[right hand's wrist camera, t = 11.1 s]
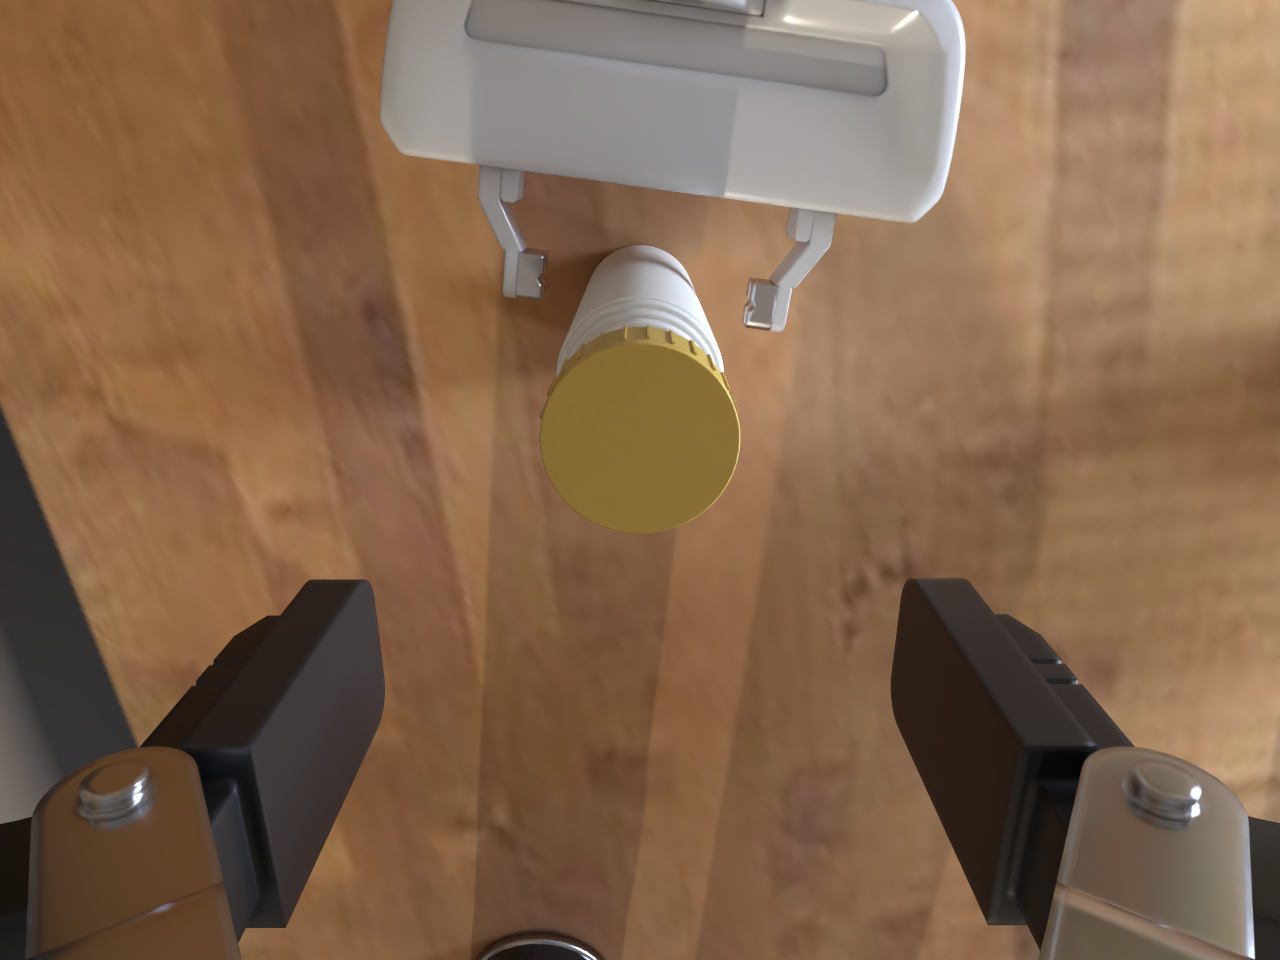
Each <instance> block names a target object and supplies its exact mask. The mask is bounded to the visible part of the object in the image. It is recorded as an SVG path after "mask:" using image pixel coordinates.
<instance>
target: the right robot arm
mask: <svg viewBox="0 0 1280 960" xmlns="http://www.w3.org/2000/svg"><path fill="white" fill-rule="evenodd" d="M384 697H385V679H384V670H383V663H382V655H381V647H380V639H379V631H378V623H377V615H376V607H375V599H374V593H373V589H372V587H371V585H370V583H369V582H368V581H367V580H309V581H308V582H307V583H306V584H305V585H304V586H303V587H302V589H301V590H300V591H299V592H298V594H297V595H296V596H295V597H294V599H293V600H292V601H291V603H290V604H289V605H288V606H287V608H286V609H285V610H284V611H283V613H282V614H281V615H280V616H266V617H265V618H263V619H261V620H260V621H258V622H256V623H255V624H253V625H252V626H250V627H248V628H247V629H245V630H244V631H242V632H240V633H239V634H237V635H236V636H234V637H233V638H232V639H231V641H230V642H229V643H228V644H227V645H226V646H225V648H224V649H223V650H222V651H221V652H220V654H219V655H218V656H217V657H216V658H215V659H214V664H213V665H209V666H208V668H207V669H206V670H205V671H204V672H203V674H202V675H201V676H200V677H199V678H198V679H197V681H196V686H191V688H190V689H189V690H188V691H187V692H186V693H185V695H184V696H183V697H182V698H181V699H180V701H179V702H178V703H177V704H176V705H175V706H174V708H173V709H172V710H171V711H170V712H169V713H168V715H167V716H166V717H165V718H164V719H163V721H162V722H161V723H160V724H159V725H158V726H157V728H156V729H155V730H154V731H153V732H152V733H151V735H150V736H149V737H148V738H147V739H146V740H145V742H144V743H143V744H142V745H141V746H140V748H135V749H129V750H125V751H121V752H117V753H114V754H111V755H108V756H105V757H102V758H100V759H98V760H95V761H93V762H91V763H89V764H87V765H85V766H83V767H81V768H79V769H77V770H75V771H74V772H72V773H71V774H69V775H68V776H66V777H64V778H63V779H62V780H61V781H59V782H58V783H57V784H55V785H54V786H53V787H52V788H51V789H50V790H49V791H48V792H47V793H46V794H45V795H44V796H43V797H42V799H41V800H40V801H39V803H38V804H37V806H36V808H35V810H34V812H33V816H32V817H30V818H26V819H22V820H18V821H13V822H8V823H4V824H0V960H242V959H241V955H240V951H239V946H238V942H239V940H240V938H241V936H242V935H243V933H244V931H245V929H246V928H286V926H287V924H288V921H289V919H290V917H291V915H292V913H293V911H294V908H295V906H296V904H297V902H298V900H299V898H300V895H301V893H302V891H303V889H304V887H305V885H306V882H307V880H308V878H309V876H310V874H311V872H312V869H313V867H314V865H315V863H316V861H317V859H318V856H319V854H320V852H321V850H322V848H323V846H324V843H325V841H326V839H327V837H328V835H329V833H330V830H331V828H332V826H333V824H334V822H335V820H336V817H337V815H338V813H339V811H340V809H341V807H342V804H343V802H344V800H345V798H346V796H347V794H348V791H349V789H350V787H351V785H352V783H353V781H354V778H355V776H356V774H357V772H358V770H359V768H360V765H361V763H362V761H363V759H364V757H365V755H366V752H367V750H368V748H369V746H370V744H371V742H372V739H373V737H374V735H375V733H376V731H377V729H378V726H379V724H380V720H381V717H382V712H383V706H384ZM891 699H892V707H893V712H894V717H895V720H896V723H897V726H898V728H899V730H900V732H901V735H902V737H903V739H904V741H905V743H906V746H907V748H908V750H909V752H910V754H911V757H912V759H913V761H914V763H915V765H916V768H917V770H918V772H919V774H920V776H921V779H922V781H923V783H924V785H925V787H926V790H927V792H928V794H929V796H930V798H931V800H932V803H933V805H934V807H935V809H936V811H937V814H938V816H939V818H940V820H941V822H942V825H943V827H944V829H945V831H946V833H947V836H948V838H949V840H950V842H951V844H952V847H953V849H954V851H955V853H956V855H957V858H958V860H959V862H960V864H961V866H962V869H963V871H964V873H965V875H966V877H967V880H968V882H969V884H970V886H971V888H972V891H973V893H974V895H975V897H976V899H977V902H978V904H979V906H980V908H981V910H982V913H983V915H984V917H985V919H986V921H987V924H988V925H1028V927H1029V929H1030V931H1031V933H1032V935H1033V937H1034V939H1035V941H1036V943H1037V945H1038V947H1039V949H1040V955H1039V959H1038V960H1280V823H1276V822H1271V821H1267V820H1262V819H1257V818H1253V817H1249V816H1247V812H1246V810H1245V808H1244V806H1243V804H1242V803H1241V801H1240V800H1239V799H1238V797H1237V796H1236V795H1235V794H1234V793H1233V792H1232V791H1231V790H1230V789H1229V788H1228V787H1227V786H1226V785H1225V784H1223V783H1222V782H1221V781H1220V780H1218V779H1217V778H1216V777H1214V776H1212V775H1211V774H1209V773H1208V772H1206V771H1205V770H1203V769H1201V768H1199V767H1197V766H1195V765H1194V764H1192V763H1189V762H1187V761H1185V760H1182V759H1180V758H1178V757H1175V756H1172V755H1169V754H1166V753H1163V752H1159V751H1155V750H1151V749H1145V748H1139V747H1135V746H1134V745H1133V744H1132V743H1131V742H1130V741H1129V739H1128V738H1127V737H1126V736H1125V735H1124V733H1123V732H1122V731H1121V730H1120V729H1119V727H1118V726H1117V725H1116V724H1115V723H1114V722H1113V720H1112V719H1111V718H1110V717H1109V716H1108V714H1107V713H1106V712H1105V711H1104V710H1103V708H1102V707H1101V706H1100V705H1099V704H1098V703H1097V701H1096V700H1095V699H1094V698H1093V697H1092V695H1091V694H1090V693H1089V692H1088V691H1087V690H1086V688H1085V687H1084V686H1083V685H1082V684H1078V679H1077V678H1076V676H1075V675H1074V674H1073V673H1072V672H1071V671H1070V669H1069V668H1068V667H1067V666H1066V665H1065V664H1061V659H1060V657H1059V656H1058V655H1057V654H1056V653H1055V652H1054V650H1053V649H1052V648H1051V647H1050V646H1049V644H1048V643H1047V642H1046V641H1045V640H1044V638H1043V637H1042V636H1041V635H1040V634H1038V633H1037V632H1035V631H1033V630H1032V629H1030V628H1029V627H1027V626H1025V625H1024V624H1022V623H1021V622H1019V621H1017V620H1016V619H1014V618H1013V617H1011V616H1009V615H1008V614H994V613H993V612H992V610H991V609H990V608H989V607H988V605H987V604H986V603H985V601H984V600H983V599H982V598H981V596H980V595H979V594H978V593H977V591H976V590H975V589H974V587H973V586H972V585H971V584H970V582H969V581H968V580H966V579H962V578H910V579H908V580H907V581H906V583H905V584H904V587H903V590H902V595H901V602H900V610H899V618H898V626H897V635H896V643H895V651H894V659H893V667H892V675H891ZM476 960H604V959H603V958H602V956H601V955H600V954H599V953H598V952H596V951H595V950H594V949H593V948H591V947H590V946H588V945H587V944H585V943H583V942H581V941H579V940H577V939H574V938H572V937H569V936H565V935H562V934H557V933H550V932H527V933H521V934H516V935H512V936H509V937H506V938H504V939H501V940H499V941H497V942H495V943H494V944H492V945H491V946H489V947H488V948H487V949H485V950H484V951H483V952H482V953H481V954H480V955H479V956H478V958H477V959H476Z"/></svg>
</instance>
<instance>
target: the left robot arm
mask: <svg viewBox="0 0 1280 960" xmlns="http://www.w3.org/2000/svg"><path fill="white" fill-rule="evenodd" d="M965 52H966V49H965V34H964V28H963V23H962V20H961V17H960V14H959V12H958V10H957V8H956V6H955V5H954V3H953V2H952V1H951V0H392V6H391V11H390V17H389V22H388V29H387V36H386V42H385V50H384V59H383V68H382V77H381V91H380V122H381V125H382V127H383V129H384V131H385V132H386V134H387V135H388V137H389V138H390V140H391V141H392V143H393V144H394V146H395V147H396V148H397V150H398V151H399V152H400V153H401V154H404V155H410V156H417V157H424V158H431V159H439V160H446V161H454V162H461V163H468V164H476V165H480V172H479V190H478V200H479V202H480V204H481V206H482V208H483V211H484V213H485V215H486V217H487V219H488V221H489V223H490V225H491V228H492V230H493V232H494V234H495V236H496V238H497V240H498V242H499V245H500V247H501V249H503V250H505V259H504V274H503V296H504V297H510V298H519V299H528V300H537V301H541V300H542V298H543V297H544V293H545V285H546V278H545V277H544V275H543V272H544V271H545V270H546V268H547V262H548V251H544V250H538V249H531V248H528V245H527V243H526V241H525V238H524V236H523V234H522V231H521V229H520V227H519V224H518V222H517V220H516V217H515V215H514V213H513V211H512V208H511V206H510V204H509V202H510V203H514V202H517V201H520V200H521V199H522V198H523V195H524V184H525V172H526V171H527V172H535V173H542V174H550V175H557V176H564V177H572V178H579V179H587V180H594V181H601V182H609V183H616V184H623V185H631V186H638V187H646V188H653V189H660V190H668V191H675V192H683V193H690V194H697V195H705V196H712V197H719V198H727V199H734V200H742V201H749V202H756V203H764V204H771V205H779V206H786V207H790V211H789V217H788V223H787V229H786V234H787V236H789V237H791V238H793V239H794V240H796V241H798V242H797V243H796V244H795V246H794V247H793V248H792V250H791V251H790V252H789V253H788V255H787V256H786V257H785V259H784V260H783V261H782V262H781V264H780V265H779V266H778V268H777V269H776V270H775V271H774V273H773V274H772V275H771V277H770V278H769V279H770V280H767V279H758V278H749V281H748V286H747V292H746V295H747V297H748V299H749V301H748V302H747V303H746V304H745V305H744V310H743V319H742V321H743V324H744V325H745V327H746V328H753V329H760V330H767V331H775V332H782V331H783V329H784V326H785V323H786V318H787V312H788V307H789V302H790V296H791V291H792V288H796V287H797V285H798V284H799V283H800V282H801V281H802V280H803V278H804V277H805V276H806V275H807V274H808V272H809V271H810V270H811V269H812V268H813V266H814V265H815V264H816V263H817V262H818V260H819V259H820V258H821V257H822V256H823V254H824V253H825V252H826V251H827V250H828V248H829V247H830V245H831V240H832V235H833V231H834V226H835V221H836V216H837V213H838V214H845V215H852V216H860V217H867V218H875V219H882V220H889V221H897V222H904V223H913V222H916V221H917V220H918V219H920V218H921V217H922V216H923V215H924V214H925V213H927V212H928V211H929V210H930V209H931V208H932V207H933V206H934V205H935V204H936V203H937V202H938V200H939V199H940V197H941V196H942V193H943V191H944V187H945V184H946V180H947V176H948V172H949V168H950V163H951V158H952V153H953V148H954V143H955V137H956V131H957V125H958V119H959V112H960V104H961V97H962V88H963V78H964V68H965Z"/></svg>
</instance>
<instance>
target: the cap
mask: <svg viewBox="0 0 1280 960" xmlns="http://www.w3.org/2000/svg"><path fill="white" fill-rule="evenodd" d="M729 390H730V388H729V385H728V383H727V380H726V377H725V375H724V373H723V372H721V373H720V371H719V369H718V368H717V366H716V365H715V364H714V362H713V359H712V357H711V355H710V354H708V355H707V354H706V353H705V352H704V351H703V350H702V349H700V348H699V347H698V346H696V345H695V343H694V340H692V339H691V340H690V341H689V340H687V339H686V338H684V337H682V336H680V335H677V334H675V333H673V330H671V329H670V330H669V331H666V330H663V329H659V328H652V327H650V325H647V326H646V327H629V328H627V326H623V328H621V329H617V330H614V331H610V332H607V333H605V334H604V332H601V333H600V336H598V337H596V338H594V339H593V340H591V341H589V342H587V343H586V344H585V345H584V343H582V344H581V345H580V348H579V349H578V350H577V351H576V352H575V353H574V354H573V355H572V356H571V357H570V358H569V360H568V359H566V360H565V361H564V363H563V366H562V369H561V371H560V373H559V375H558V376H557V378H554V379H553V381H552V384H551V386H550V389H549V391H548V394H547V396H548V397H549V399H547V400H546V403H545V406H544V408H543V411H542V413H541V416H540V419H542V420H541V427H540V438H539V442H540V449H541V455H542V460H543V464H544V467H545V470H546V473H547V475H548V477H549V479H550V481H551V483H552V485H553V486H554V488H555V489H556V491H557V492H558V494H559V495H560V496H561V497H562V498H563V500H564V501H565V502H566V503H567V504H568V505H569V506H570V507H571V508H573V509H574V510H575V511H576V512H577V513H579V514H580V515H582V516H583V517H584V518H586V519H588V520H590V521H592V522H593V523H595V524H597V525H600V526H603V527H605V528H608V529H612V530H615V531H619V532H626V533H654V532H660V531H664V530H669V529H672V528H675V527H677V526H680V525H683V524H684V523H686V522H688V521H690V520H692V519H694V518H695V517H697V516H698V515H700V514H701V513H703V512H704V511H705V510H706V509H707V508H709V507H710V506H711V505H712V504H713V503H714V502H715V501H716V500H717V498H718V497H719V496H720V495H721V494H722V492H723V491H724V489H725V488H726V486H727V485H728V483H729V481H730V479H731V477H732V475H733V473H734V470H735V467H736V464H737V460H738V455H739V450H740V435H741V431H740V427H739V421H738V416H737V412H738V408H737V405H736V403H735V400H734V398H733V395H732V393H729Z"/></svg>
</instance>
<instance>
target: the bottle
mask: <svg viewBox="0 0 1280 960" xmlns="http://www.w3.org/2000/svg"><path fill="white" fill-rule="evenodd" d="M647 325H650V327H652V328H659V329H663V330H666V331H669V330H670V329H671V330H673V333H675V334H677V335H680V336H682V337H684V338H686V339H687V340H689V341H690V340H691V339H692V340H694V343H695V345H696V346H698V347H699V348H700V349H702V350H703V351H704V352H705V353H706V354H707V355H708V354H710V355H711V357H712V359H713V362H714V364H715V365H716V366H717V368H718V369H719V371H720V373H721V372H723V373H724V371H723V362H722V358H721V354H720V351H719V348H718V346H717V343H716V341H715V338H714V336H713V333H712V331H711V329H710V326H709V324H708V321H707V319H706V317H705V314H704V312H703V309H702V307H701V305H700V302H699V300H698V297H697V295H696V293H695V290H694V288H693V285H692V283H691V281H690V278H689V276H688V274H687V272H686V270H685V269H684V268H683V266H682V265H681V264H680V263H679V262H678V261H677V260H676V259H675V258H674V257H673V256H672V255H670V254H669V253H667V252H665V251H663V250H661V249H659V248H656V247H652V246H646V245H634V246H628V247H624V248H621V249H619V250H617V251H615V252H613V253H611V254H610V255H608V256H607V257H606V258H605V259H604V260H603V261H602V262H601V263H600V264H599V265H598V266H597V268H596V269H595V271H594V272H593V274H592V276H591V278H590V281H589V283H588V286H587V288H586V290H585V293H584V295H583V298H582V300H581V302H580V305H579V307H578V310H577V312H576V314H575V317H574V319H573V322H572V324H571V326H570V329H569V331H568V334H567V336H566V338H565V341H564V343H563V346H562V348H561V351H560V354H559V358H558V362H557V370H556V378H557V376H558V375H559V373H560V371H561V369H562V366H563V363H564V361H565V360H566V359H568V360H569V358H570V357H571V356H572V355H573V354H574V353H575V352H576V351H577V350H578V349H579V348H580V345H581V344H582V343H584V345H585V344H586V343H587V342H589V341H591V340H593V339H594V338H596V337H598V336H600V333H601V332H604V334H605V333H607V332H610V331H614V330H617V329H621V328H623V326H627V328H629V327H646V326H647Z"/></svg>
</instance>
